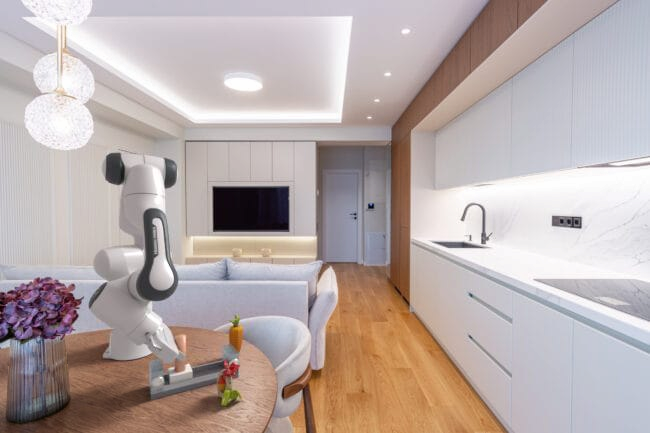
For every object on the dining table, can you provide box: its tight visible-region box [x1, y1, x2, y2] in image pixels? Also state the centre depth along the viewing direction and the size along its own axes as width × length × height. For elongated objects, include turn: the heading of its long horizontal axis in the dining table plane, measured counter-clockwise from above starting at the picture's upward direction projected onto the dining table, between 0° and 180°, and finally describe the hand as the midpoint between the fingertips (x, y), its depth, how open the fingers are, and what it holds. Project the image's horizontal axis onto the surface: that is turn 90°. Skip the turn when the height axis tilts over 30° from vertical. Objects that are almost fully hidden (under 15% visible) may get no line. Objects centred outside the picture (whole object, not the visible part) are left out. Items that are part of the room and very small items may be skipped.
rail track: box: [148, 344, 240, 401], centre depth 95 cm, size 8×24×8 cm, turn 123°
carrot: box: [228, 314, 244, 354], centre depth 111 cm, size 5×5×15 cm
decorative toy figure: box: [216, 360, 243, 408], centre depth 87 cm, size 6×11×9 cm
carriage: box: [167, 333, 193, 384], centre depth 93 cm, size 6×6×13 cm
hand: (182, 355), depth 94 cm, fingers closed on carriage, 3 cm apart
